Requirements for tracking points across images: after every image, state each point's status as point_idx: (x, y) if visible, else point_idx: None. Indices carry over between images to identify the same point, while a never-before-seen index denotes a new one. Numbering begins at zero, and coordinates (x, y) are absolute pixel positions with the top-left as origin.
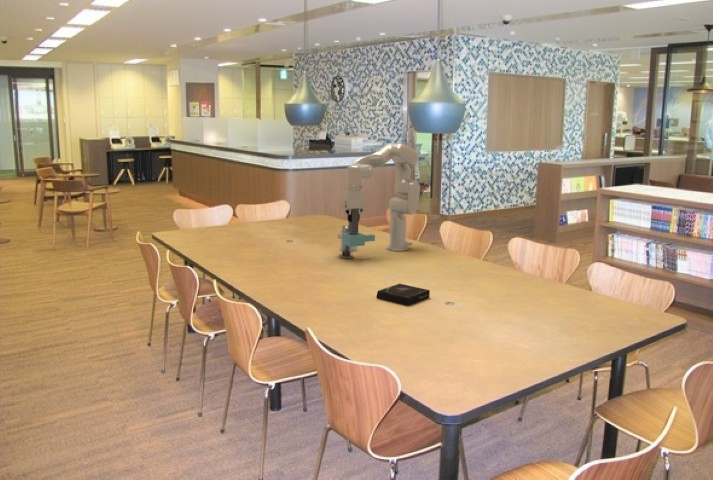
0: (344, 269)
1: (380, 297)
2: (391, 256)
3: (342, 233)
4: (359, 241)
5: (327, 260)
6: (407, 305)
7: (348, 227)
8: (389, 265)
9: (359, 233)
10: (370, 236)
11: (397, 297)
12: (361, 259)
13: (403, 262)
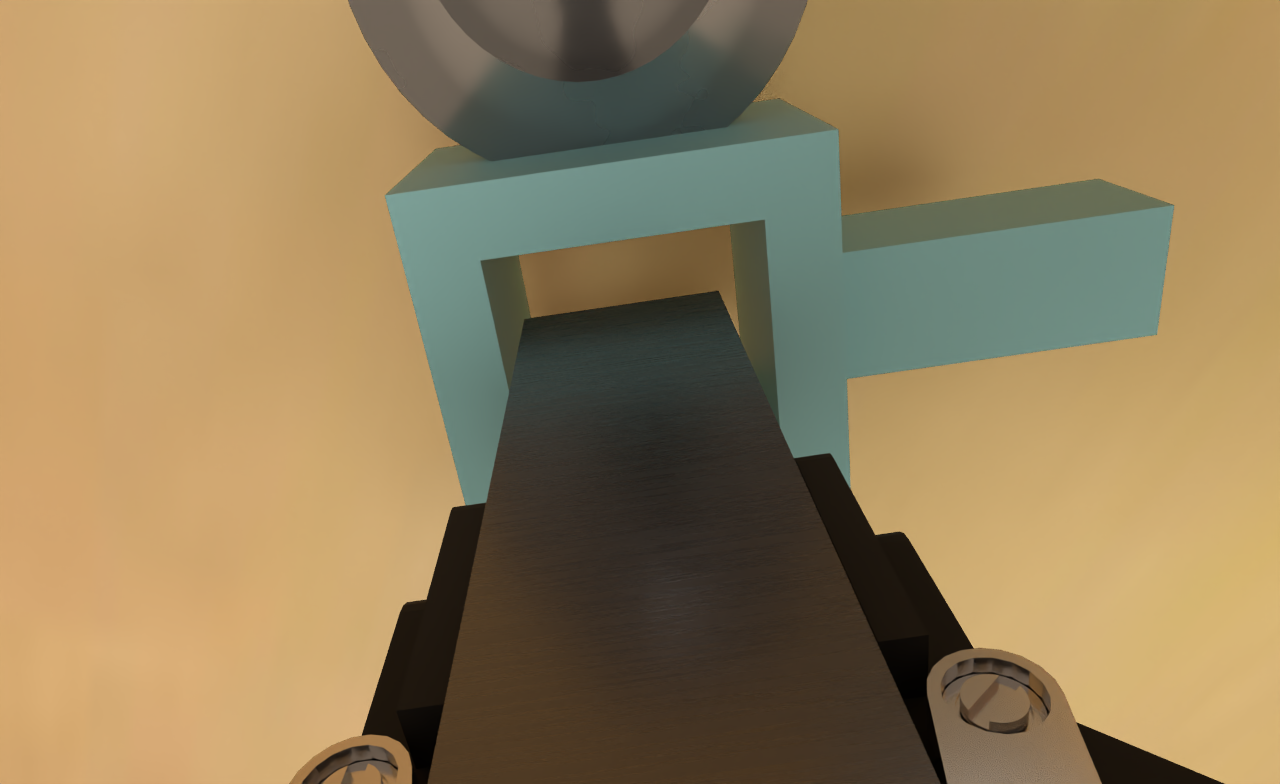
0: (385, 600)
1: None
2: (1262, 122)
3: (388, 197)
4: None
5: (238, 105)
6: None
7: (600, 77)
8: (938, 559)
9: (802, 350)
10: (1033, 341)
11: None
12: None
13: (1170, 476)
